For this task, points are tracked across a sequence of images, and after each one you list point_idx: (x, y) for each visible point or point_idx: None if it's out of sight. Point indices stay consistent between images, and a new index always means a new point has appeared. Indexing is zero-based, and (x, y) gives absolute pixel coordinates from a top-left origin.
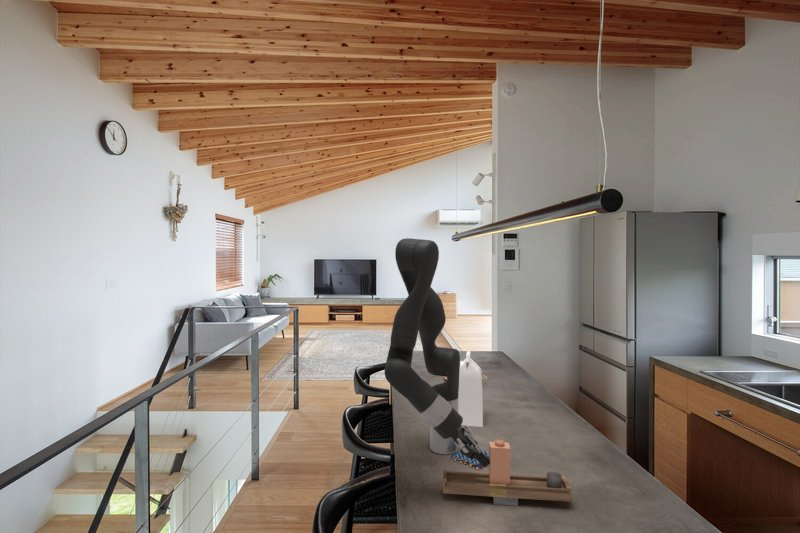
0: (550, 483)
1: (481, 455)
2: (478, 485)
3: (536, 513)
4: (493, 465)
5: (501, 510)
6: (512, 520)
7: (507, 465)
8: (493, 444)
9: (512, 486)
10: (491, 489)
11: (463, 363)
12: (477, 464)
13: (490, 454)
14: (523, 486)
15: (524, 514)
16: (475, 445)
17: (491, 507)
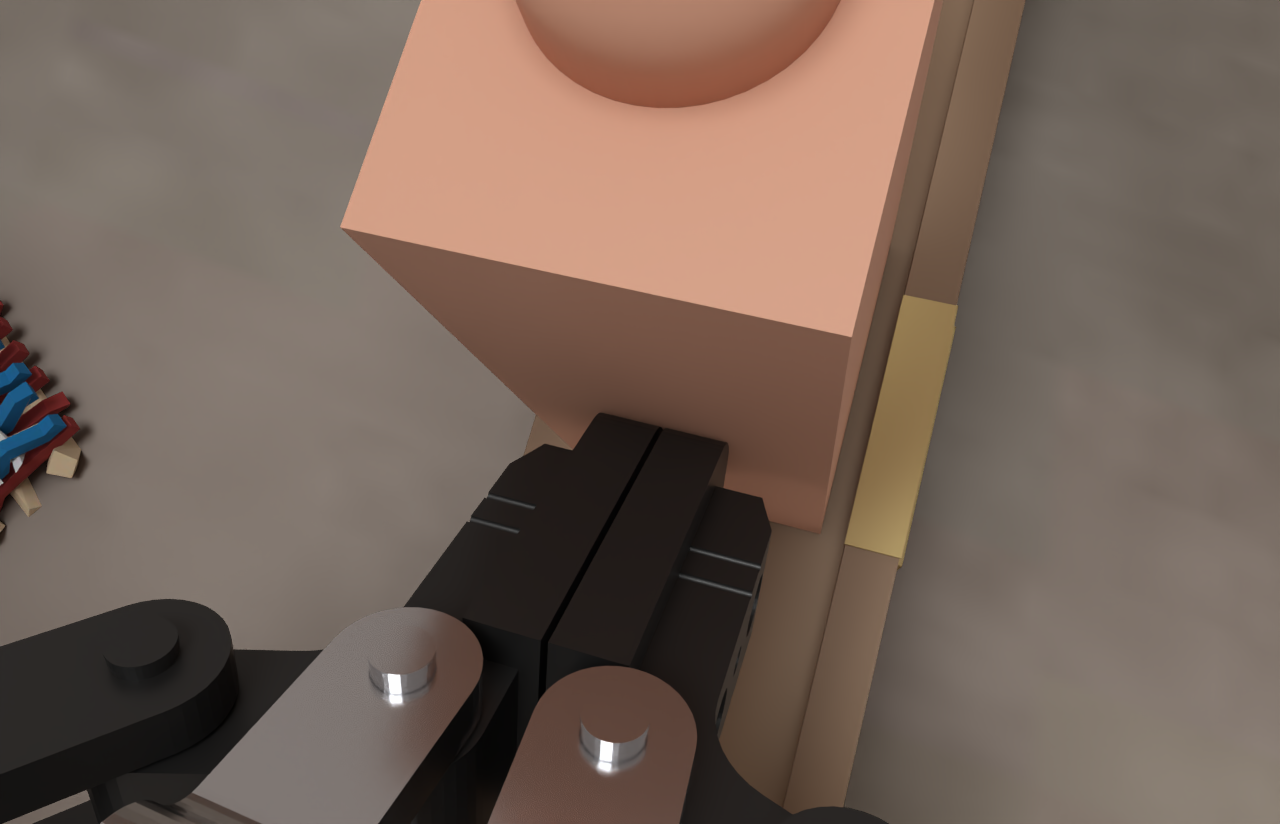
0: None
1: (669, 651)
2: (851, 757)
3: (1118, 99)
4: (847, 402)
5: (1028, 484)
6: (1254, 425)
7: (919, 101)
8: (599, 149)
9: (965, 209)
10: (906, 545)
11: None
12: (21, 446)
13: (829, 405)
14: (974, 52)
15: (1132, 238)
16: (398, 820)
17: (951, 590)
